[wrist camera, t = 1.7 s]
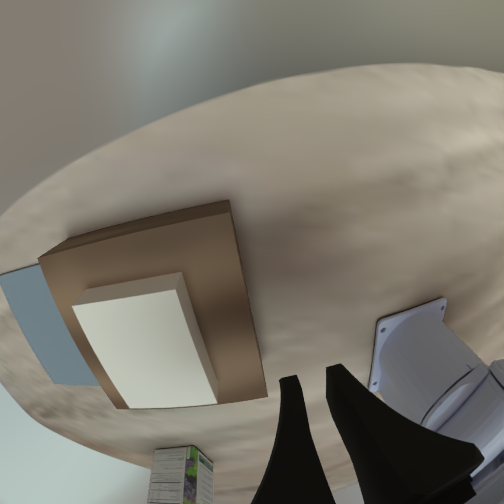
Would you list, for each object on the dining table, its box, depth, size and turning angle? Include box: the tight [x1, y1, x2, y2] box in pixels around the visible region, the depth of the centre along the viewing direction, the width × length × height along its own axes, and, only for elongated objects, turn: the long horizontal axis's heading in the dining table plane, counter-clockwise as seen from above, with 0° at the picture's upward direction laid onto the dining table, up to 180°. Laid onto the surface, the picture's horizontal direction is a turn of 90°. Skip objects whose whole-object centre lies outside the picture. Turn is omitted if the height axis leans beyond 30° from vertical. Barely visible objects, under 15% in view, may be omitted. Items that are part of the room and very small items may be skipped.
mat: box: [0, 264, 100, 386], centre depth 19 cm, size 12×10×1 cm
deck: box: [38, 200, 268, 409], centre depth 17 cm, size 13×12×4 cm
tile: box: [72, 272, 218, 408], centre depth 14 cm, size 8×6×2 cm
